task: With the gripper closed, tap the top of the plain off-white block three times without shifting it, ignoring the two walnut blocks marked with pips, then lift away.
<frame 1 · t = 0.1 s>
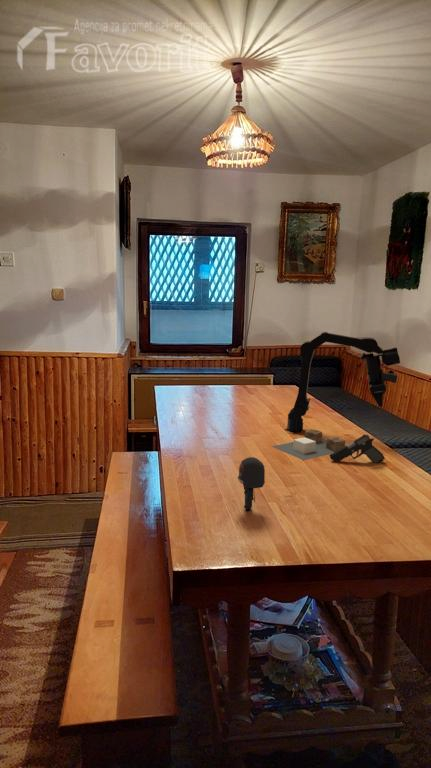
hand: (380, 404, 207), 15 cm above the table, tool pointing down, fingers open, 9 cm apart
plain block: (304, 450, 192), resting on mat
toy: (249, 509, 141), on the table
mat: (311, 448, 196), on the table
pip block one: (312, 441, 205), resting on mat
pip block two: (335, 449, 195), resting on mat
handgun: (356, 463, 182), on the table
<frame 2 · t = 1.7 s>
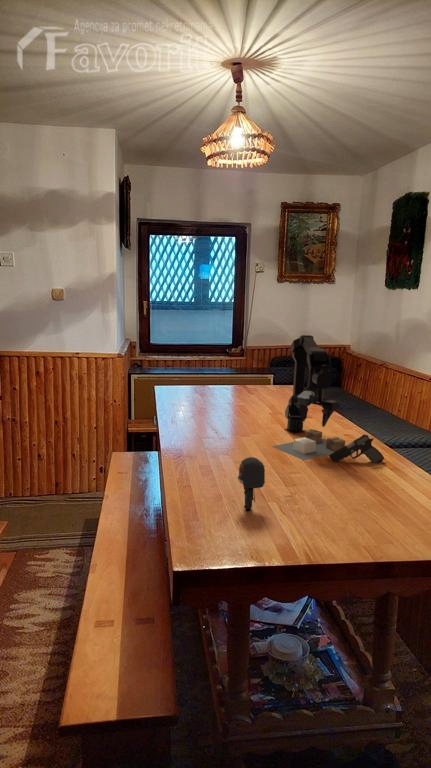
hand: (313, 423, 190), 11 cm above the table, tool pointing down, fingers open, 9 cm apart
nothing on the table moved.
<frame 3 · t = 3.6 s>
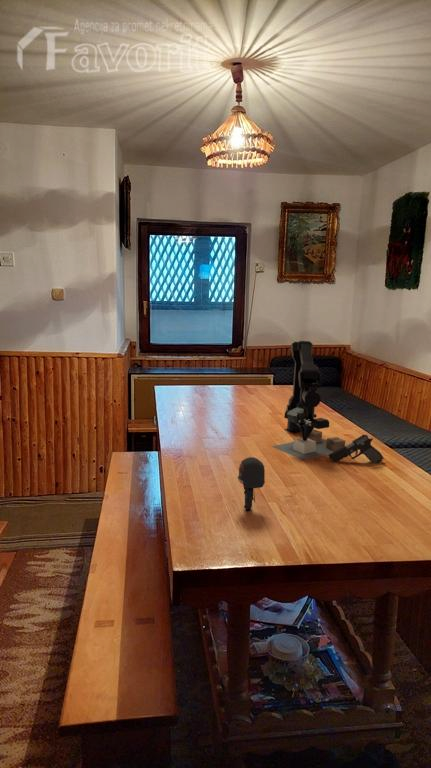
hand: (304, 440, 191), 4 cm above the table, tool pointing down, fingers closed, pressing on plain block
plain block: (304, 450, 192), resting on mat, touching gripper
everything else where it was.
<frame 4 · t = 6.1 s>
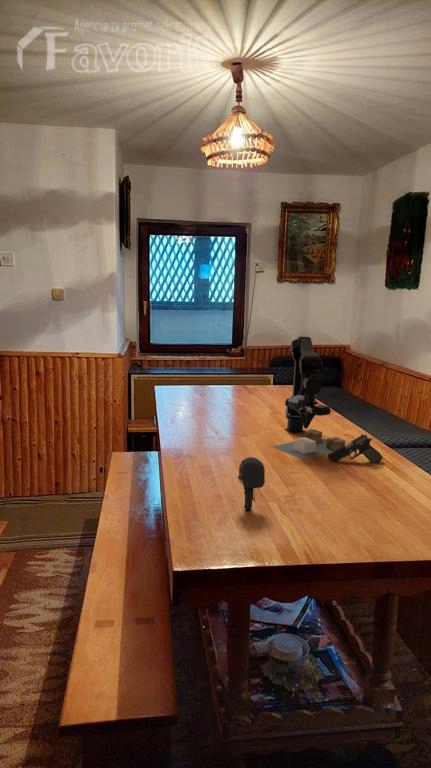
hand: (305, 428, 190), 9 cm above the table, tool pointing down, fingers closed
plain block: (304, 450, 192), resting on mat
everything else where it was.
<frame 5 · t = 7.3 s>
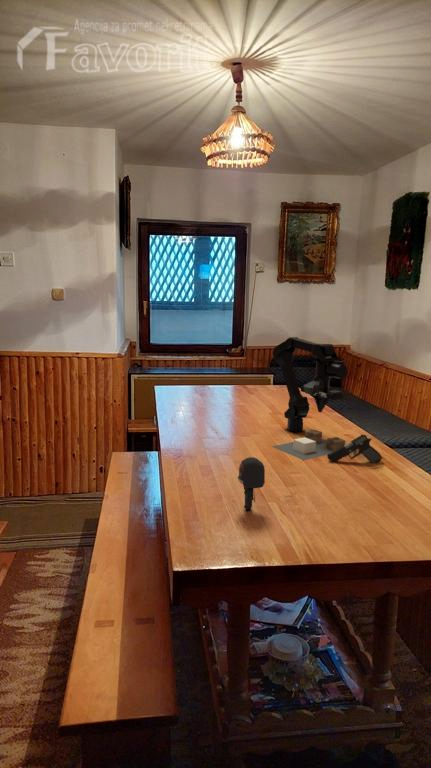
hand: (319, 412, 205), 12 cm above the table, tool pointing down, fingers closed
nothing on the table moved.
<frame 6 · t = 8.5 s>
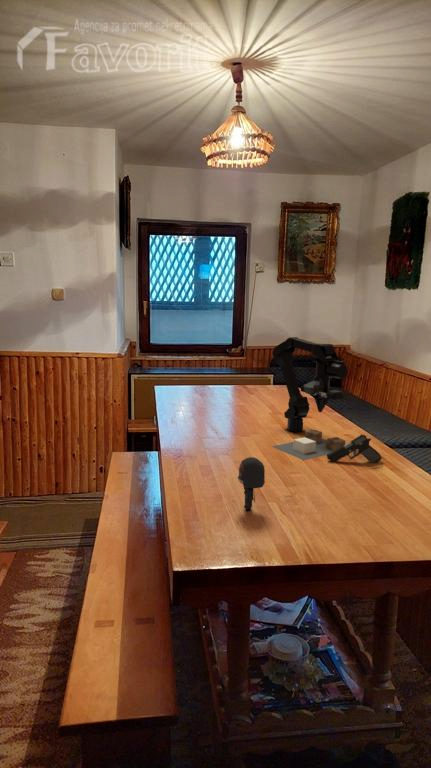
hand: (320, 411, 205), 12 cm above the table, tool pointing down, fingers closed
at the end: plain block moved 0.0 cm from its start; plain block tilted 0°; plain block touching mat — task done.
